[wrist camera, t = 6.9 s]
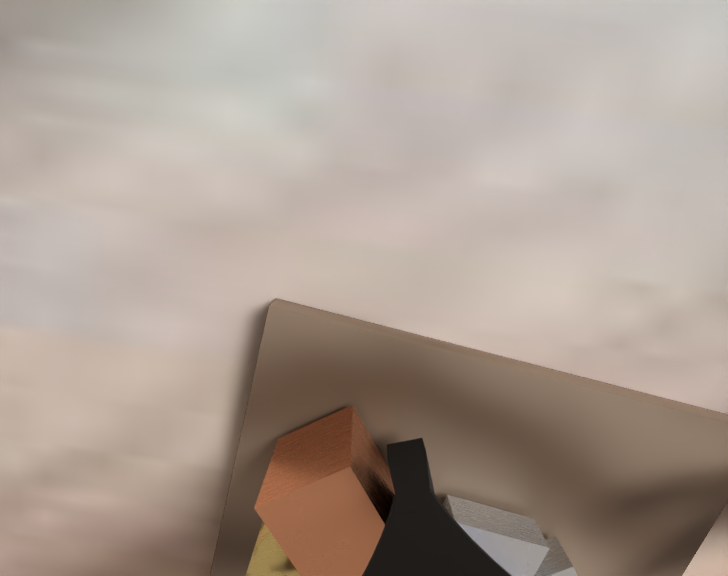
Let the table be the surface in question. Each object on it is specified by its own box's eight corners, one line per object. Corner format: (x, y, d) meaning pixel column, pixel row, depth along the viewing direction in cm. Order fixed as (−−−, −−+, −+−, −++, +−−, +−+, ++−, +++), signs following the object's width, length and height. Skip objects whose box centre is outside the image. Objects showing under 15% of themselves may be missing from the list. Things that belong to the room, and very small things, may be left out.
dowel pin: (314, 527, 14) (302, 612, 11) (265, 516, 14) (239, 599, 11) (326, 486, 14) (317, 563, 11) (275, 475, 13) (251, 550, 11)
